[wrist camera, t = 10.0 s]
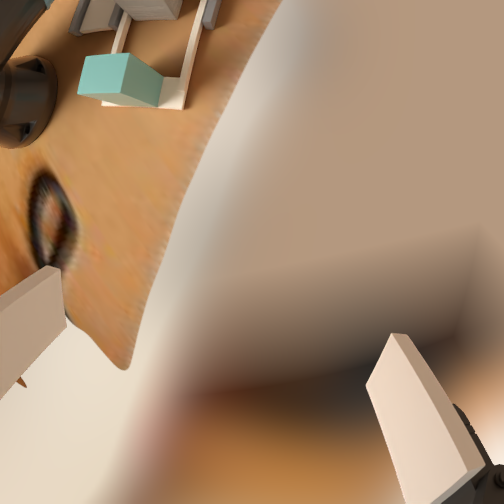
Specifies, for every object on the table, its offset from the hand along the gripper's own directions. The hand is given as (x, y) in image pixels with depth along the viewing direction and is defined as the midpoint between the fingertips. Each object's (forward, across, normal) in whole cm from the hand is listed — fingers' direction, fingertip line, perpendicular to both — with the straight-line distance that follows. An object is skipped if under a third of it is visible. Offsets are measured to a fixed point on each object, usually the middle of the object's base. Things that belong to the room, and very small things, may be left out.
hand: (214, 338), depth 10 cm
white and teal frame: (+26, -15, +22) cm, 37 cm away
